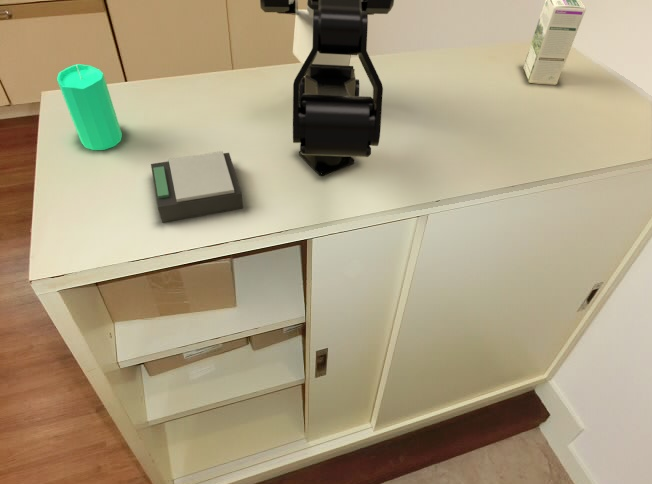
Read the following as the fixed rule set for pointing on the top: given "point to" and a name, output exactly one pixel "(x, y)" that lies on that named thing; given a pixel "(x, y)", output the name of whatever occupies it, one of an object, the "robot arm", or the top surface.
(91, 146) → the candle
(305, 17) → the medicine bottle
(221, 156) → the scale
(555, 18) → the syrup box
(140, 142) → the top surface
